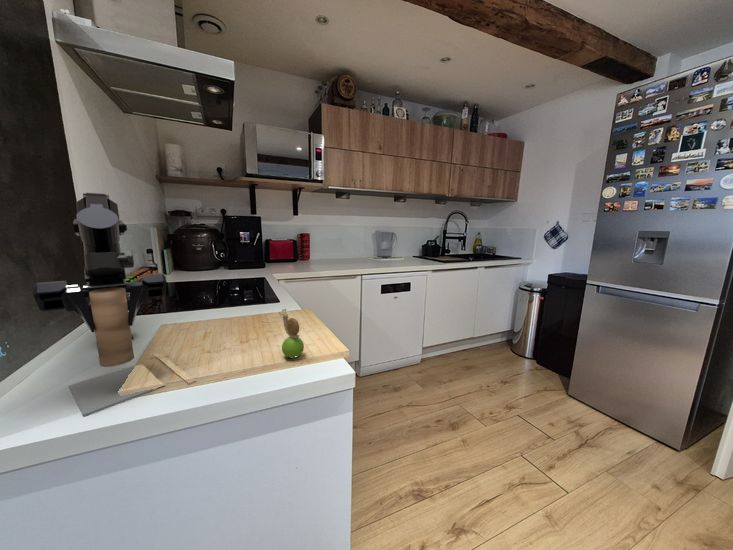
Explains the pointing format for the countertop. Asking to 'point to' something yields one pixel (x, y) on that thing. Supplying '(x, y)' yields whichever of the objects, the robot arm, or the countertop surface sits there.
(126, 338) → the smooth brown cylinder
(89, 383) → the mat
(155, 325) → the countertop surface
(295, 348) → the snail figurine
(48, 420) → the countertop surface
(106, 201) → the robot arm
